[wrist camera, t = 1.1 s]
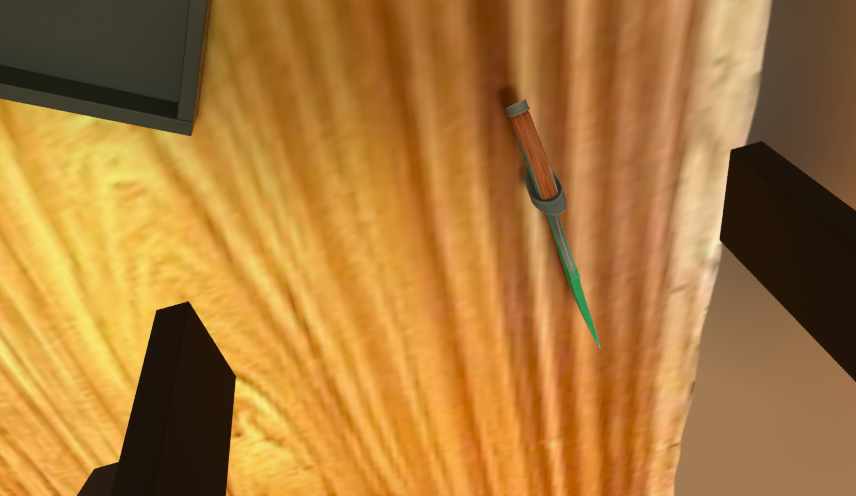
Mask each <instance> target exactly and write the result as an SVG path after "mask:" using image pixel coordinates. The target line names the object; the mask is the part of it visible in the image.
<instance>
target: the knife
mask: <svg viewBox="0 0 856 496" xmlns="http://www.w3.org/2000/svg"><path fill="white" fill-rule="evenodd" d="M528 110H529V107H528V104H527V102H526V99H525V100H522V101H520V102H517V103H515V104H513V105H511V106H509V107H507V108H506V109H505V111H506V113H507V115H508V118H511V121H512V125H513V128H514V131H515V134H516V136H517V139H518V141H519V143H520V146H521V148H522V151H523V154H524V158H525V161H526V163H527V169H526V174H525V183H526V187H527V190H528V193H529V196H530V199H531V201H532V203H533V204H534V205H535V207H537V208H538V209H539V210H540V211H542V212H544V213H546V215H547V218H548V221H549V224H550V227H551V230H552V233H553V236H554V239H555V242H556V245H557V248H558V252H559V255H560V258H561V262H562V265H563V269H564V272H565V276H566V279H567V281H568V284H569V286H570V289H571V291H572V293H573V296H574V298H575V300H576V302H577V305H578V307H579V309H580V311H581V313H582V315H583V318H584V320H585V322H586V324H587V326H588V328H589V330H590V332H591V334H592V336H593V337H594V339H595V341H596V343H597V344H598V346H599V348H600V345H599V341H598V338H597V334H596V331H595V328H594V324H593V321H592V318H591V315H590V312H589V309H588V306H587V303H586V299H585V296H584V293H583V290H582V286H581V283H580V275H579V273H578V270H577V268H576V265H575V262H574V260H573V257H572V254H571V251H570V248H569V245H568V242H567V240H566V237H565V234H564V231H563V228H562V225H561V222H560V219H559V216H558V215H559V214H561V213H563V212H564V210H565V208H566V198H565V195H564V192H563V189H562V186H561V183H560V181H559V179H558V178H557V177H556V175H555V174H554V173H553V172H552V171H551V168H550V166H549V163H548V160H547V157H546V155H545V152H544V149H543V146H542V144H541V141H540V139H539V136H538V134H537V131H536V129H535V126H534V123H533V120H532V118H531V115H530V113H529V111H528Z"/></svg>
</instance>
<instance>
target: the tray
mask: <svg viewBox="0 0 856 496" xmlns="http://www.w3.org/2000/svg"><path fill="white" fill-rule="evenodd" d="M211 1H212V0H0V99H6V100H11V101H16V102H21V103H26V104H31V105H36V106H41V107H46V108H51V109H56V110H61V111H66V112H71V113H76V114H81V115H87V116H92V117H97V118H102V119H107V120H112V121H117V122H122V123H127V124H132V125H137V126H142V127H147V128H152V129H157V130H163V131H168V132H173V133H178V134H183V135H188V136H191V135H192V132H193V129H194V125H195V122H196V118H197V114H198V106H199V98H200V90H201V82H202V74H203V66H204V58H205V50H206V41H207V33H208V25H209V17H210V9H211Z"/></svg>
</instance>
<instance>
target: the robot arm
mask: <svg viewBox="0 0 856 496" xmlns="http://www.w3.org/2000/svg"><path fill="white" fill-rule="evenodd" d="M720 241H721V242H722V243H723V244H724V245H725V246H726V247H727V248H728V249H729V250H730V251H731V252H732V253H733V254H734V255H735V257H736V258H737V259H738V260H739V261H740V262H741V263H742V264H743V265H744V266H745V267H746V268H747V269H748V270H749V271H750V272H751V273H752V274H753V275H754V276H755V277H756V278H757V279H758V281H759V282H760V283H761V284H762V285H763V286H764V287H765V288H766V289H767V290H768V291H769V292H770V293H771V294H772V295H773V296H774V297H775V298H776V299H777V300H778V301H779V302H780V303H781V304H782V305H783V307H784V308H785V309H786V310H787V311H788V312H789V313H790V314H791V315H792V316H793V317H794V318H795V319H796V320H797V321H798V322H799V323H800V324H801V325H802V326H803V327H804V328H805V330H806V331H807V332H808V333H809V334H810V335H811V336H812V337H813V338H814V339H815V340H816V341H817V342H818V343H819V344H820V345H821V346H822V347H823V348H824V349H825V350H826V351H827V352H828V353H829V354H830V356H832V358H833V359H834V360H835V361H836V362H837V363H838V364H839V365H840V366H841V367H842V368H843V369H844V370H845V371H846V372H847V373H848V374H849V375H850V376H851V377H852V378H853V379H854V381H855V382H856V211H855V210H854V209H852V208H851V207H850V206H848V205H847V204H846V203H844V202H843V201H842V200H840V199H839V198H838V197H836V196H835V195H834V194H832V193H831V192H829V191H828V190H827V189H826V188H824V187H823V186H821V185H820V184H819V183H817V182H816V181H815V180H813V179H812V178H811V177H809V176H808V175H807V174H805V173H804V172H803V171H801V170H800V169H799V168H797V167H796V166H795V165H793V164H792V163H790V162H789V161H788V160H786V159H785V158H784V157H782V156H781V155H780V154H778V153H777V152H776V151H774V150H773V149H771V148H770V147H769V146H768V145H766V144H765V143H764V142H762V141H761V142H757V143H754V144H750V145H746V146H743V147H739V148H736V149H732V150H731V152H730V160H729V168H728V176H727V184H726V192H725V200H724V208H723V216H722V224H721V232H720ZM235 381H236V376H235V374H234V373H233V371H232V370H231V368H230V366H229V365H228V363H227V362H226V360H225V358H224V357H223V355H222V354H221V352H220V350H219V349H218V347H217V346H216V344H215V342H214V341H213V339H212V338H211V336H210V334H209V333H208V331H207V330H206V328H205V327H204V325H203V323H202V322H201V320H200V319H199V317H198V315H197V314H196V312H195V311H194V309H193V307H192V306H191V304H190V303H189V301H188V302H184V303H181V304H177V305H174V306H170V307H167V308H163V309H159V310H156V314H155V318H154V322H153V326H152V330H151V334H150V338H149V342H148V346H147V350H146V355H145V359H144V363H143V367H142V371H141V375H140V379H139V383H138V387H137V391H136V395H135V399H134V403H133V407H132V411H131V415H130V419H129V423H128V427H127V431H126V435H125V439H124V443H123V447H122V451H121V455H120V459H119V462H117V463H113V464H110V465H106V466H103V467H99V468H96V469H94V470H93V472H92V473H91V475H90V476H89V478H88V479H87V481H86V482H85V484H84V486H83V487H82V489H81V490H80V492H79V493H78V495H77V496H226V486H227V474H228V463H229V451H230V439H231V428H232V416H233V404H234V392H235Z"/></svg>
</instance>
